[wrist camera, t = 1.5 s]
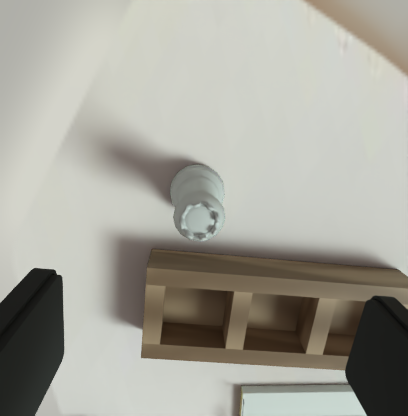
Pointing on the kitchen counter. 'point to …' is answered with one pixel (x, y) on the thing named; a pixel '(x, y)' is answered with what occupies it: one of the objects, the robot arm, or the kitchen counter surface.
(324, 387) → the baseboard
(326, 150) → the kitchen counter surface
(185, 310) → the rack
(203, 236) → the rook chess piece
